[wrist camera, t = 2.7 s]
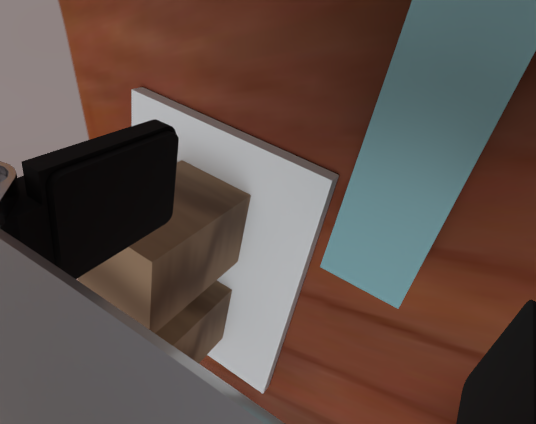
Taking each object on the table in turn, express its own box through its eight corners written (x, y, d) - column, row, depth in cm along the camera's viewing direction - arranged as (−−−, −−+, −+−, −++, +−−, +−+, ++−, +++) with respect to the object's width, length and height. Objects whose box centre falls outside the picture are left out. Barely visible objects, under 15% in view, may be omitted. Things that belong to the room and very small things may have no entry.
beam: (471, -85, 17) (449, -108, 13) (591, -64, 15) (606, -83, 11) (353, 226, 25) (320, 267, 22) (421, 259, 24) (398, 308, 20)
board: (142, 86, 30) (131, 89, 29) (339, 174, 24) (332, 180, 23) (138, 296, 42) (131, 301, 41) (268, 385, 37) (263, 393, 36)
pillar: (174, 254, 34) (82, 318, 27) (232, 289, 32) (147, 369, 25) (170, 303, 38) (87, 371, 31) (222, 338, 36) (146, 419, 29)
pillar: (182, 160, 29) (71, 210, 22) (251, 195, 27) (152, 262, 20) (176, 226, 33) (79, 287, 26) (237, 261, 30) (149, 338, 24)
